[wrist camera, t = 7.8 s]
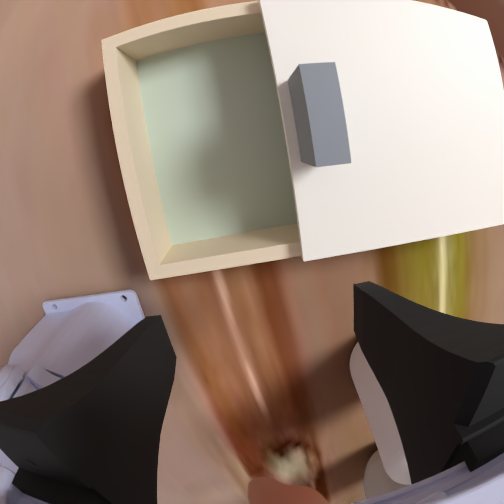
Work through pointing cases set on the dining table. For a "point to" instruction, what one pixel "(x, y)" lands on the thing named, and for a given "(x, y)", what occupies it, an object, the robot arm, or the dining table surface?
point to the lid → (387, 121)
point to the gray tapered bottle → (378, 478)
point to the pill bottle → (379, 418)
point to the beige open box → (202, 141)
